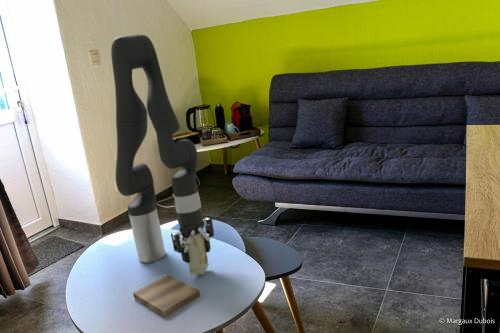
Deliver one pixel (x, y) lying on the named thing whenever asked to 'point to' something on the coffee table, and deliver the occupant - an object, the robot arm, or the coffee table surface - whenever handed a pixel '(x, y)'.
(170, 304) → the walnut board
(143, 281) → the coffee table surface
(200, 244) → the skincare box
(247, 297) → the coffee table surface
